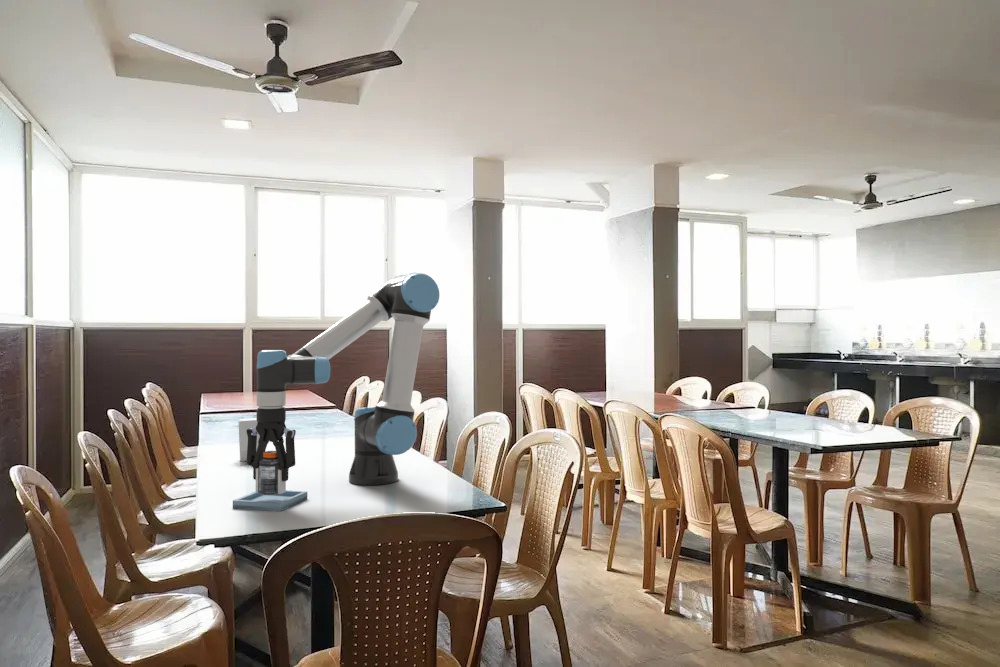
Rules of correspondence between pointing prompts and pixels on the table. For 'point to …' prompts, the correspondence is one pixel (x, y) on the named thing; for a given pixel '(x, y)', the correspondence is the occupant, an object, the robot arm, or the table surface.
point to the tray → (270, 501)
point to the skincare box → (243, 437)
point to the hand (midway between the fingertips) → (270, 492)
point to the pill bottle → (269, 473)
